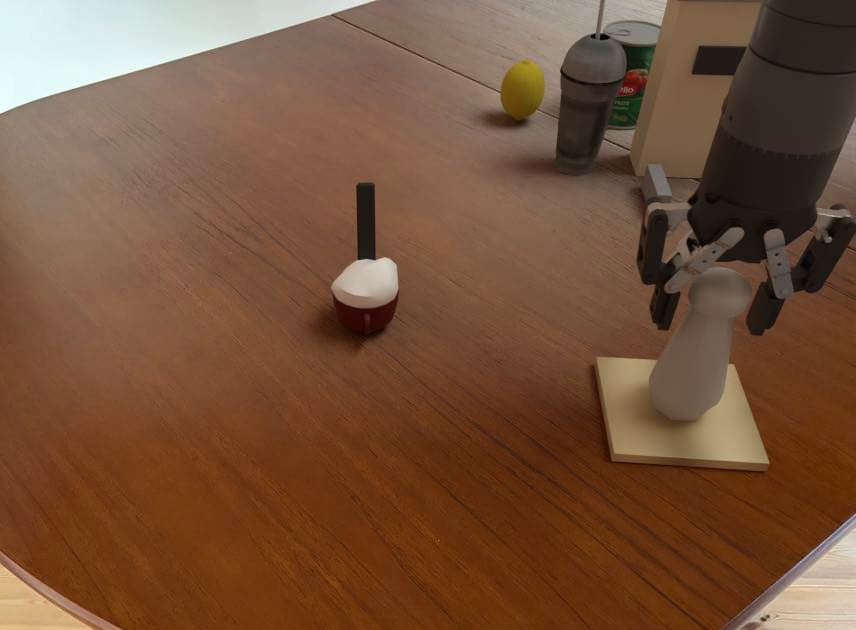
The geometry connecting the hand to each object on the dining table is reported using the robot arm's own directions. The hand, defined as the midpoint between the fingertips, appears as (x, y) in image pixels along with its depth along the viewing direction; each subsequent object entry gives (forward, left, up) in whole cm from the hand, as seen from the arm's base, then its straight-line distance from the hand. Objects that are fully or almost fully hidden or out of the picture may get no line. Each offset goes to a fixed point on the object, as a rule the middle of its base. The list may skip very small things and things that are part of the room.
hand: (707, 326), depth 66 cm
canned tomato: (-3, -57, -10) cm, 58 cm away
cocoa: (+27, -11, -10) cm, 31 cm away
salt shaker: (0, 0, -9) cm, 9 cm away
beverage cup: (+4, -43, -10) cm, 44 cm away
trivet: (0, 0, -10) cm, 10 cm away
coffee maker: (-9, -39, -10) cm, 41 cm away
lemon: (+10, -55, -10) cm, 57 cm away
